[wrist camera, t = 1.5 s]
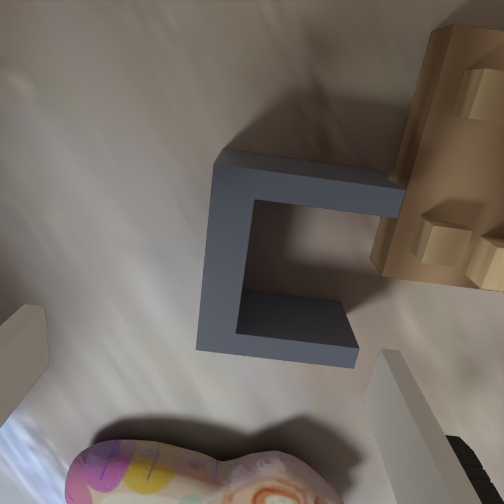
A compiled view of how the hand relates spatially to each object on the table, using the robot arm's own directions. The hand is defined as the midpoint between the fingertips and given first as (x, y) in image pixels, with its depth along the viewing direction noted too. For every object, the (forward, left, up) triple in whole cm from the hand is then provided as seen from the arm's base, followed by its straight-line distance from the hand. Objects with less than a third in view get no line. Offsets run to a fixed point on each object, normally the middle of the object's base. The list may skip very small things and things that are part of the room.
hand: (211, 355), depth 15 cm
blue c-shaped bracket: (+4, 0, -14) cm, 15 cm away
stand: (+17, +7, -14) cm, 23 cm away
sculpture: (+1, -27, -15) cm, 31 cm away
